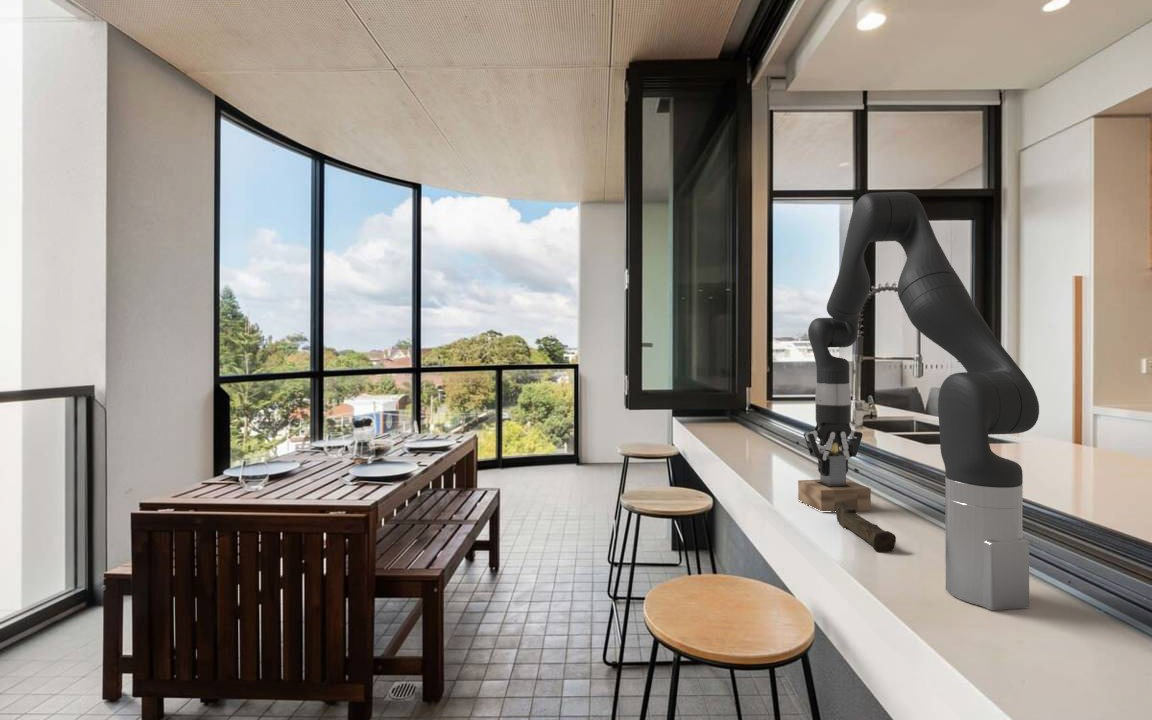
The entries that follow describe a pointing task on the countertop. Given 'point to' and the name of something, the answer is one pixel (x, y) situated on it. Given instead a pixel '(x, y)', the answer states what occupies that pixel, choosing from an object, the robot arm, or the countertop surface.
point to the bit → (835, 469)
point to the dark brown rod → (865, 529)
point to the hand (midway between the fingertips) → (833, 474)
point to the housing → (834, 495)
